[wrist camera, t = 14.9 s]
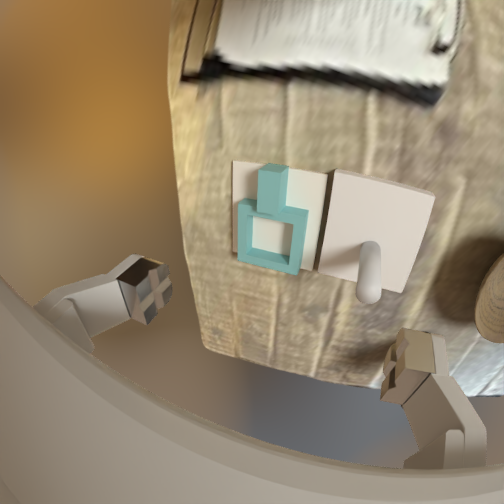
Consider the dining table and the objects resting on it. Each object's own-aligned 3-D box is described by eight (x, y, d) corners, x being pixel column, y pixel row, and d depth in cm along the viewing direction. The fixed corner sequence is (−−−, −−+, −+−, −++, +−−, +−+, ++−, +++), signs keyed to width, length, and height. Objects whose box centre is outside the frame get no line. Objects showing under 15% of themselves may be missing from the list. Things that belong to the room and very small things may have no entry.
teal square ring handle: (245, 160, 39) (233, 166, 36) (313, 170, 36) (308, 177, 33) (243, 252, 48) (233, 265, 44) (300, 266, 45) (294, 281, 41)
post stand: (336, 168, 35) (323, 196, 26) (431, 192, 31) (455, 230, 21) (319, 265, 44) (302, 315, 34) (400, 285, 40) (403, 340, 30)
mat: (234, 159, 40) (232, 160, 40) (328, 174, 36) (327, 175, 35) (234, 249, 49) (232, 251, 48) (312, 269, 45) (312, 271, 44)
